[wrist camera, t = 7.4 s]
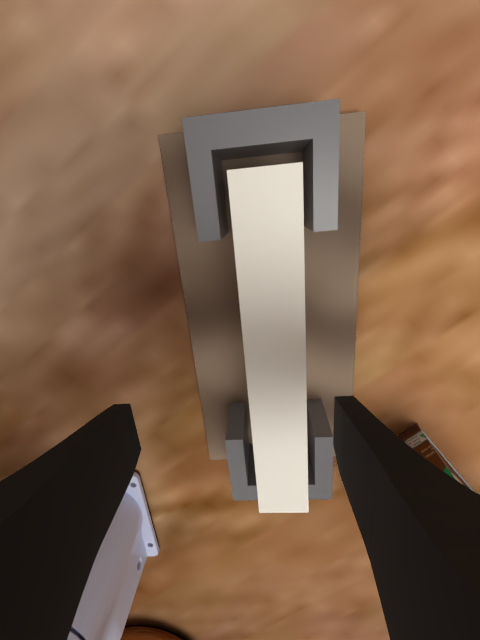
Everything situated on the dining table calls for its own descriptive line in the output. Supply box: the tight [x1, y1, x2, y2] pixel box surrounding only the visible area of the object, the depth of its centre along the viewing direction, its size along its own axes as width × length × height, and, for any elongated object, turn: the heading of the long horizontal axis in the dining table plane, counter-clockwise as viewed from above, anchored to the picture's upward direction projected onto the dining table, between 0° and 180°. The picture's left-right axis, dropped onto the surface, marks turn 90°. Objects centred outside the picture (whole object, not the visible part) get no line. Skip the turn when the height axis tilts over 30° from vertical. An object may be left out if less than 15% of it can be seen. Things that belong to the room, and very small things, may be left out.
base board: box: [158, 111, 366, 460], centre depth 19 cm, size 21×10×1 cm, turn 5°
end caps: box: [182, 99, 340, 500], centre depth 17 cm, size 20×6×4 cm, turn 5°
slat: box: [227, 162, 309, 513], centre depth 16 cm, size 16×2×6 cm, turn 5°
